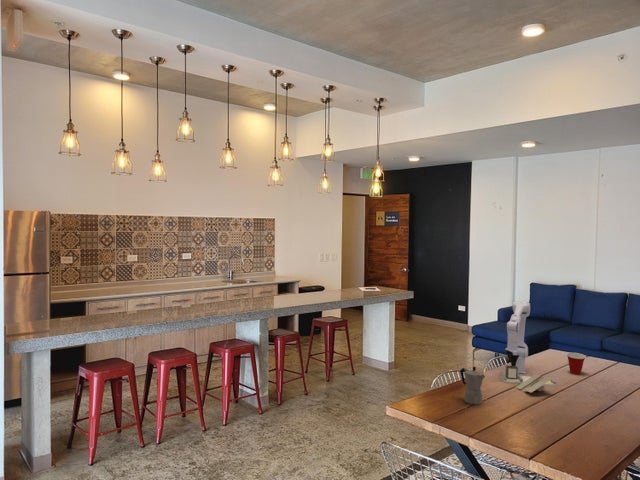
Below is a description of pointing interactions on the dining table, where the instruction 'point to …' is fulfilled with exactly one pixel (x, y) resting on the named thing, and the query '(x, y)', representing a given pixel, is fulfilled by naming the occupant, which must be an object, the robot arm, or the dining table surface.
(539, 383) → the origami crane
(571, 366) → the plastic cup
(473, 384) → the coffeepot
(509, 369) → the picture frame
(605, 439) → the dining table surface
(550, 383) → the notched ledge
